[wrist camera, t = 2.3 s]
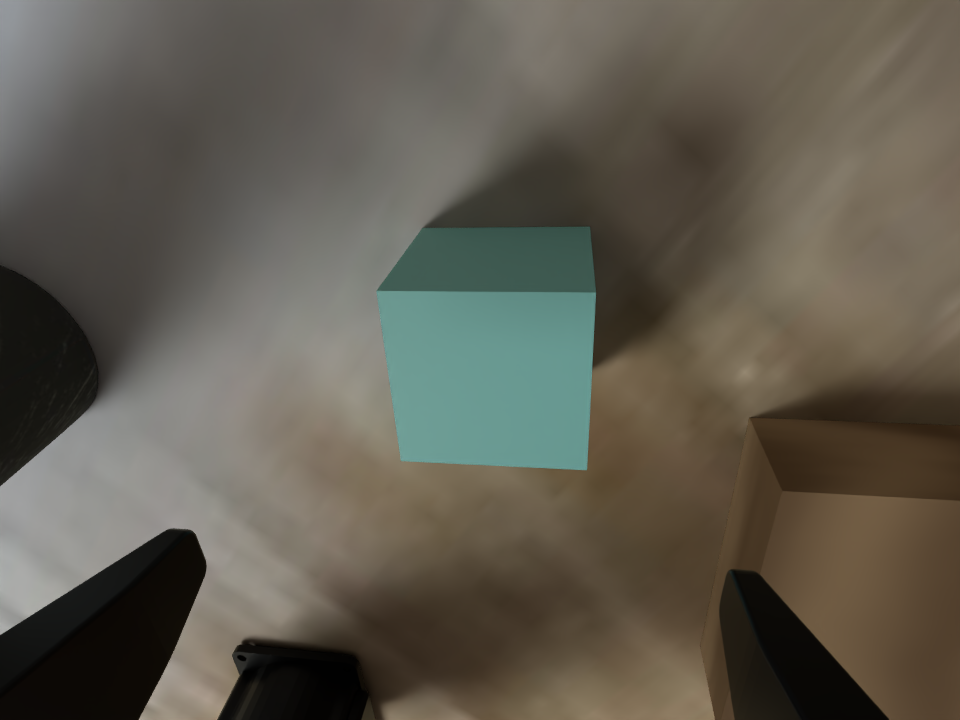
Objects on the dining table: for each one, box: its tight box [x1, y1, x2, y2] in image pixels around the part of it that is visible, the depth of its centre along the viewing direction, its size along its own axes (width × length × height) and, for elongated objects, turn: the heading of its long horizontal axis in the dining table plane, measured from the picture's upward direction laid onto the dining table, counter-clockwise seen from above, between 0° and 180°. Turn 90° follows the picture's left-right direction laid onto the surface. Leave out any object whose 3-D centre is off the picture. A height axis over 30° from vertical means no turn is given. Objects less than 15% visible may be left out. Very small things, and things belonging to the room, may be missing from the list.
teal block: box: [377, 227, 596, 470], centre depth 17 cm, size 5×5×5 cm
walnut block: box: [700, 418, 960, 720], centre depth 20 cm, size 12×12×4 cm
